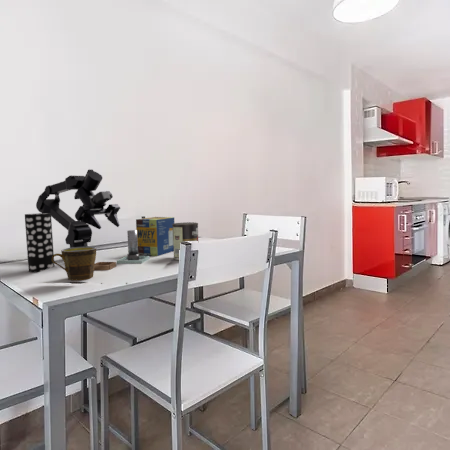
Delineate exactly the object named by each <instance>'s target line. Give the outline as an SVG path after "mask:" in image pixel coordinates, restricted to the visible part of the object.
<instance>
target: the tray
mask: <svg viewBox="0 0 450 450" xmlns="http://www.w3.org/2000/svg"><path fill="white" fill-rule="evenodd" d="M149 260H150V256H149V255H139V260H128V259H127V255H125V256H124V257H122V258H119V259H117V260H116V264H143V263H145V262H147V261H149Z"/></svg>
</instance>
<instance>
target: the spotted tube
mask: <svg viewBox="0 0 450 450" xmlns="http://www.w3.org/2000/svg"><path fill="white" fill-rule="evenodd" d="M24 224H25V225H24V227H25V238H26V252H27V266H28V272H29V273H40V272H42V271H45V270H48V269H51V268H54V267H55V263H53V261H52V256H53V255H54V254H55V253H54V241H53V240H54V239H53V237H54V236H53V225H52V224H53V223H52V216H51V213H41V212H39V213H26V214H24ZM53 260H54V261H55V257H54V258H53Z"/></svg>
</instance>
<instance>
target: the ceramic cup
mask: <svg viewBox="0 0 450 450" xmlns="http://www.w3.org/2000/svg"><path fill="white" fill-rule="evenodd" d="M57 256H58V257H60V258H61V259H62V260H63V263H64V264H63V265H64V267H63V266H62V264H60V263H57V262H56V261H55V257H57ZM96 257H97V247H96V246H89V247H72V248H70V247H66V248H63V249H61V253H54V255H53V256H52V261H53V263H54V265H57V266H58V267H60V268H61V269H63V270H64V271H65V273H66V275H67V279H68V280H69V281H70V282H68V283H69V284H73V285H74V284H78V285H79V284H80V285H81V284H86V283H87V281H86V280H90V279H92V278H94V273H95V270H94V266H95V263H96ZM53 258H54V260H53Z"/></svg>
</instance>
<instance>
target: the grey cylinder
mask: <svg viewBox="0 0 450 450" xmlns="http://www.w3.org/2000/svg"><path fill="white" fill-rule="evenodd" d="M126 231H127V232H126V233H127V251H128V253H127V255H126V256H127V259H126V260H140V259H139V256H140V255H139V254H138V237H137V230H136V229H130V230H126Z"/></svg>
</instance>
